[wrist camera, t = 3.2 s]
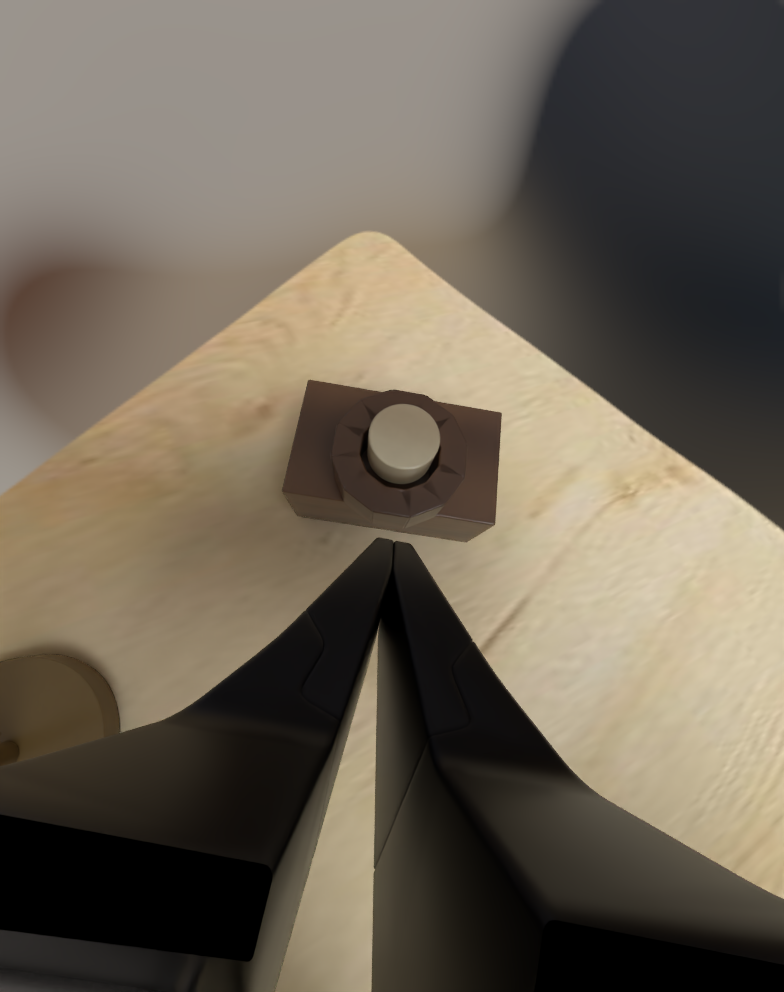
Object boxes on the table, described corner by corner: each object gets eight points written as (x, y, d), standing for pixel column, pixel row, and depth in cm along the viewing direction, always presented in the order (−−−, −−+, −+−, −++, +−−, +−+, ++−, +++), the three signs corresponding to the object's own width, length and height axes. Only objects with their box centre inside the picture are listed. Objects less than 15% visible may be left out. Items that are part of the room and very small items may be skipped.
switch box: (465, 557, 22) (513, 534, 15) (293, 530, 22) (265, 495, 15) (474, 449, 24) (520, 388, 17) (317, 423, 24) (302, 350, 17)
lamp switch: (428, 489, 16) (437, 474, 14) (362, 479, 16) (362, 462, 14) (435, 430, 17) (444, 409, 15) (372, 419, 17) (374, 397, 15)
